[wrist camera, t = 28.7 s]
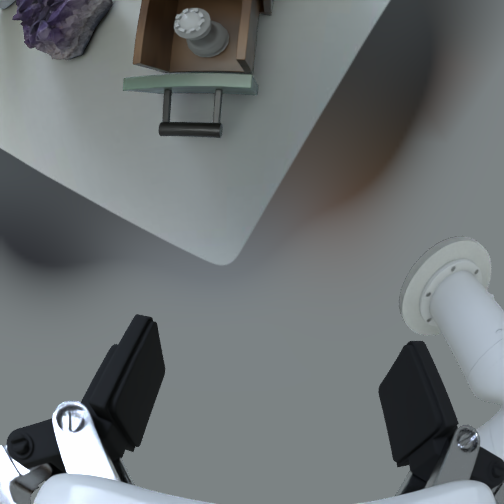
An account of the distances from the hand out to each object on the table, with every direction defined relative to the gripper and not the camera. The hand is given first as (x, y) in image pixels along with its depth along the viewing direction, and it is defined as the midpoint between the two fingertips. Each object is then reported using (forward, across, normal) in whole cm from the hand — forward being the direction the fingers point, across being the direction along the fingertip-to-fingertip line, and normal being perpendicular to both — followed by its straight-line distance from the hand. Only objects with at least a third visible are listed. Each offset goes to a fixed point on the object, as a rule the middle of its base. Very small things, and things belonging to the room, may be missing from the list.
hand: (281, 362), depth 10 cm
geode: (+26, +32, -26) cm, 49 cm away
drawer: (+25, +9, -14) cm, 31 cm away
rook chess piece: (+24, +9, -16) cm, 31 cm away
